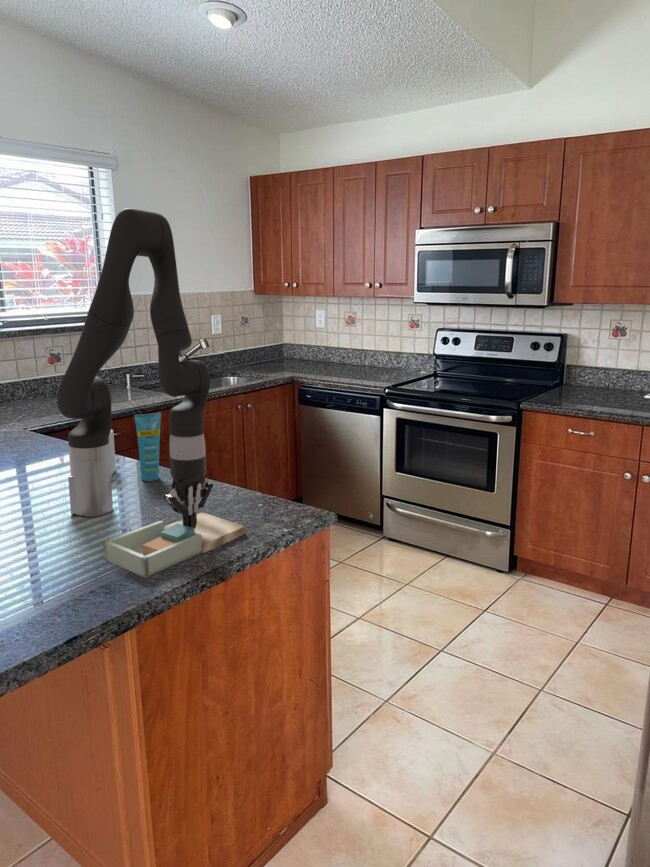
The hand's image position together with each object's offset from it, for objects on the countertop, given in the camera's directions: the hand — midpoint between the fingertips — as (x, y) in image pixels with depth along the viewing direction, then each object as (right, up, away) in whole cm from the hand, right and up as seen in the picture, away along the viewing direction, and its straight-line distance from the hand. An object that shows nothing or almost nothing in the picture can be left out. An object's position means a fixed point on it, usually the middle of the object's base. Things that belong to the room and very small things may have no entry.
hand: (190, 528), depth 142 cm
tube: (-20, +8, +42) cm, 47 cm away
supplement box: (-36, +9, +45) cm, 58 cm away
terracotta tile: (-5, -4, -7) cm, 9 cm away
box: (-6, -5, -7) cm, 11 cm away
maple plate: (+2, -2, +4) cm, 5 cm away
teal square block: (-2, -2, -3) cm, 4 cm away
